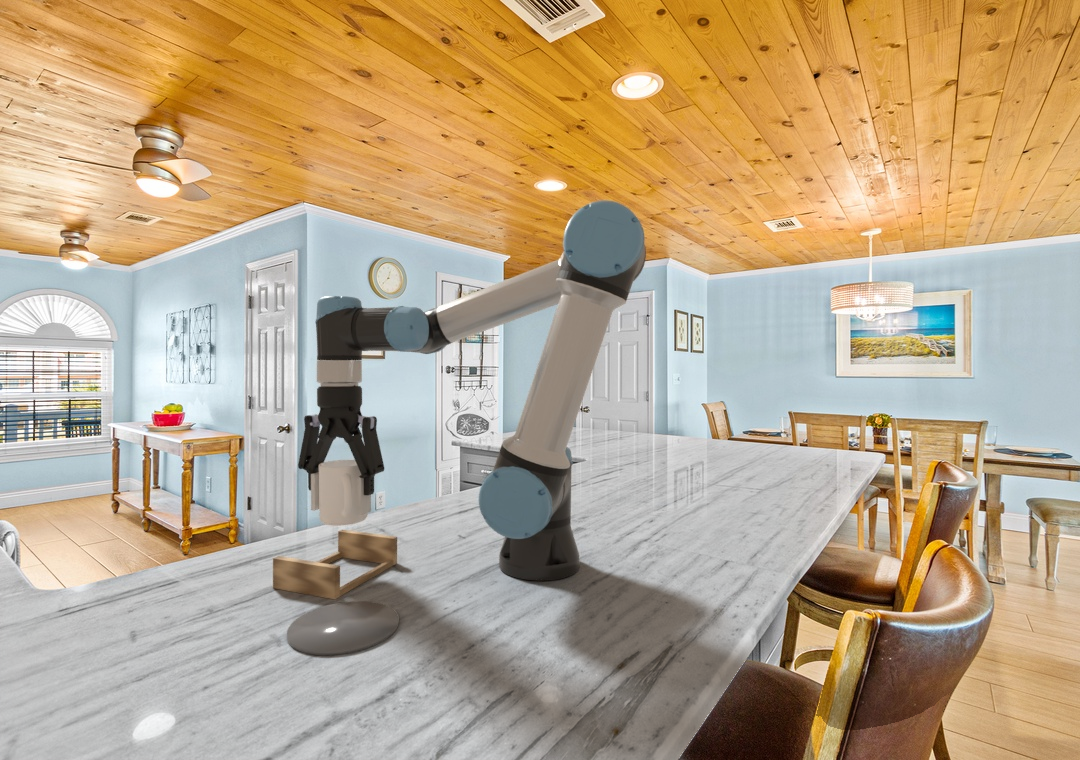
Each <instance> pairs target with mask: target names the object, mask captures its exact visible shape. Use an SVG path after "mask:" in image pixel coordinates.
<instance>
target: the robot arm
mask: <svg viewBox="0 0 1080 760" xmlns="http://www.w3.org/2000/svg"><path fill="white" fill-rule="evenodd" d="M562 247H563V252H562V253H561V256H560V257H559V258H558V259H557V260H554V261H551V262H549V263H546V264H543V265H540V266H538V267H535V268H534V269H531V270H527V271H525V272H523V273H519V274H517V275H516V276H515V275H514V276H512V277H511V278H508V279H507V278H506V279H505V280H503V281H500V282H498V283H495V284H494V283H493V284H492V285H489V286H487V287H484V288H482V289H479V290H477V291H474V292H472V293H469V294H466V295H463V296H462V297H459V298H457V299H454V300H451V301H448V302H446V303H444V304H441V305H439V306H436V307H433V308H431V309H428V310H426V311H423V309H421V308H420V307H417V306H404V305H398V306H393V307H389V306H387V307H372V308H371V307H370V308H369V307H368V308H367V307H363V306H362V305H363V304H362V301H361V300H360V299H359V298H357V297H354V296H346V295H341V296H339V295H326V296H323V297H319V299H318V300H317V302H316V318H315V328H316V329H315V330H316V346H317V347H316V349H317V350H316V352H317V353H316V354H317V355H316V382H317V384H320V386H317V388H316V404H317V406H318V407H319V413H318V414H310V415H305V416H304V417H303V422H304V432H303V436H302V443H301V448H300V453H299V458H298V464H297V467H298V469H299V470H304V471H306V473H307V475H308V476H307V479H308V480H307V481H308V482H307V483H308V484H307V488H308V490H309V491H310V511H319V464H320V463H323V462H326V461H325V460H326V458H327V456H328V453H329V451H330V449H331V447H332V444H333V442H334V440H336V438H339V439H343V440H344V443H347V445H348V448H349V449H350V452H351V454H352V456H353V459H355V461H356V463H357V466H358V468H359V470H360V473H361V475H360V476H359V477H358V478H357V485H358V515H364V514H366V513H368V514H369V513H371V512H372V495H374V493H375V475H377V474H379V473H383V472H384V471H385V465H384V460H383V455H382V451H381V450H382V449H381V446H380V442H379V436H378V432H377V424H378V419H377V416H375V415H373V416H365V415H363V414H362V412H361V407H362V405H363V388H362V386H361V385H359V384H360V383H362V381H363V374H362V372H363V370H362V365H363V363H362V361H363V359H362V358H363V357H362V355H363V352H374V351H375V352H377V351H378V352H400V353H401V352H402V353H403V352H404V353H405V352H406V353H418V354H425V355H429V354H436V353H438V352H441V351H442V350H444V349H445V348H446V347H447V346H448V345H451V344H453V343H456V342H459V341H460V340H464V339H466V338H468V337H473V336H474V335H477V334H480V333H483V332H486V331H487V330H491V329H493V328H496V327H499V326H501V325H505V324H507V323H510V322H513V321H515V320H518V319H521V318H524V317H527V316H530V315H532V314H534V313H537V312H540V311H543V310H546V309H549V308H550V307H555V306H556V305H557V307H556V310H555V313H554V315H553V319H552V322H551V324H550V328H549V331H548V333H547V336H546V338H545V339H546V340H545V343H544V346H543V349H542V352H541V355H540V357H539V361H538V363H537V366H536V367H537V368H536V370H535V374H534V376H533V379H532V381H531V385H530V388H529V391H528V394H527V397H526V399H525V403H524V405H523V409H522V412H521V415H520V418H519V422H518V424H517V428H516V431H515V433H514V434H513V435H512V436H510V437H508V438H506V439H504V440H503V441H502V443H501V446H500V449H499V452H498V455H497V459H496V461H495V464H494V467H493V470H492V471H491V472H489V473H488V475H487V476H486V477H485V478H484V481H483V482H482V484H481V486H480V489H479V492H478V507H479V512H480V514H481V515H482V517H483V519H484V521H485V523H486V524H487V525H488V526H489V528H490V529H492V530H493V531H494V532H496V533H497V534H499V535H500V536H503V537H504V538H503V542H502V545H501V548H500V552H499V555H498V556H499V557H498V558H499V559H498V560H499V563H498V566H499V569H500V571H502V572H503V573H504V574H506V575H507V576H510V577H513V578H516V579H519V580H520V579H521V580H525V581H542V582H543V581H555V580H560V579H564V578H568V577H571V576H572V575H575V574H576V573H577V572H578V571H579V570H580V553H579V550H578V547H577V546H578V545H577V542H576V539H575V536H574V533H573V530H572V526H571V525H572V522H571V521H572V520H571V518H572V517H571V514H572V513H571V511H572V510H571V509H572V468H573V467H572V466H573V464H574V463H573V462H574V461H573V459H572V450H571V449H570V448H569V447H568V443H569V440H570V437H571V435H572V432H573V428H574V425H575V423H576V420H577V417H578V414H579V411H580V408H581V406H582V402H583V400H584V397H585V393H586V391H587V388H588V385H589V382H590V379H591V376H592V373H593V370H594V368H595V365H596V361H597V358H598V355H599V353H600V349H601V346H602V344H603V341H604V338H605V334H606V332H607V329H608V326H609V322H610V320H611V317H612V315H613V311H615V310H616V309H618V308H620V307H621V306H624V305H625V304H626V303H627V300H628V298H629V294H630V292H631V289H632V286H633V283H634V282H635V280H637V278H638V277H639V276H640V274H641V273H642V272H643V269H644V266H645V264H646V263H645V262H646V259H647V250H646V249H647V248H646V245H645V231H644V228H643V226H642V222H641V221H640V219H639V218H638V217H637V215H636V214H635V213H634V212H633V211H632V210H631V209H630V208H628V207H627V206H626V205H625V204H622V203H620V202H617V201H615V200H597V201H593V202H590V203H588V204H586V205H584V206H582V207H581V208H579V209H577V211H576V212H574V214H572V216H571V217H570V219H569V220H568V222H567V225H566V227H565V228H564V233H563V241H562ZM320 427H321V429H320ZM360 428H361V429H360Z"/></svg>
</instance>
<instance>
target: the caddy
mask: <svg viewBox="0 0 1080 760" xmlns="http://www.w3.org/2000/svg"><path fill="white" fill-rule="evenodd" d="M337 532H338V533H337V552H335V553H333V554H330V555H328V556H325V557H324V558H322V559H319V560H318V561H311V560H305V559H299V558H293V557H287V556H281V555H278V556H276V557H273V558H272V589H276V590H283V591H288V592H293V593H299V594H304V595H310V596H315V597H320V598H326V599H332V600H336V599H339V598H340V597H342V596H343V595H345V594H347V593H348V592H350V591H352V590H354V589H355V588H357V587H358V586H360V585H362V584H364V583H366V582H367V581H369V580H370V579H373V578H374V577H375V576H378V575H379V574H381V573H382V572H385V571H386V570H389V568H392V567H393V566H395V565H396V564H398V536H392V535H386V534H385V535H384V534H377V533H368V532H363V531H355V530H347V529H341V530H338V531H337ZM341 558H343V559H349V560H358V561H364V562H370V563H378V564H379V565H377V566H376V567H374V568H372V569H370V570H368V571H366V572H364V573H363V574H361V575H360V576H358V577H356V578H354V579H352V580H350V581H348V582H347V583H345V584H343V585H342V586H341V565H337V564H331V563H332V562H334V561H337V560H339V559H341Z"/></svg>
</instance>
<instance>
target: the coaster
mask: <svg viewBox="0 0 1080 760" xmlns="http://www.w3.org/2000/svg"><path fill="white" fill-rule="evenodd" d="M399 617H400V615H399V614H398V612H397V611H396V610H395V609H394V608H392V607H391V606H389V605H387V604H384V603H380V602H376V601H365V600H357V601H354V600H353V601H352V600H351V601H343V602H337V603H331V604H327V605H324V606H321V607H317V608H315V609H312V610H310V611H308V612H306V613H304V614H301V616H299V617H297V618H296V619H295V620H294V621H292V622H291V624H289V626H288V628H287V630H286V641H287V643H288V645H289V646H290V647H291V648H293V649H294V650H295V651H298V652H301V653H304V654H307V655H313V656H338V655H346V654H351V653H352V654H353V653H356V652H359V651H363V650H366V649H369V648H372V647H374V646H377V645H378V644H381V643H382V642H384V641H386V640H387V639H389V638H390V637H391V636H392V635H393V634H394V633H395V632H396V630H397V629H398V627H399V624H400V623H399V622H400V620H399V619H400V618H399Z"/></svg>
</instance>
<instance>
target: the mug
mask: <svg viewBox="0 0 1080 760" xmlns="http://www.w3.org/2000/svg"><path fill="white" fill-rule="evenodd" d="M360 475H361V473H360V470H359V468H358V466H357V463H356V461H355V459H354V458H352V459H351V458H350V459H336V460H328V461H324V462H323V463H320V464H319V509H318V512H319V513H318V516H319V520H320V523H322V525H323V524H324V525H326V526H333V527H335V526H336V527H337V526H340V527H341V526H349V525H353V524H354V525H355V524H357V523H361V522H364V521H365V520H366V519H367V517H368V514H369V513H366V514H364V515H358V485H357V478H358V477H359V476H360Z"/></svg>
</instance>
